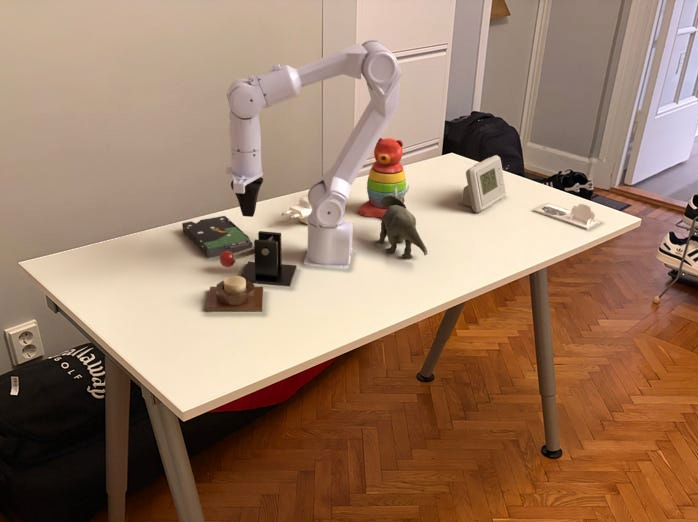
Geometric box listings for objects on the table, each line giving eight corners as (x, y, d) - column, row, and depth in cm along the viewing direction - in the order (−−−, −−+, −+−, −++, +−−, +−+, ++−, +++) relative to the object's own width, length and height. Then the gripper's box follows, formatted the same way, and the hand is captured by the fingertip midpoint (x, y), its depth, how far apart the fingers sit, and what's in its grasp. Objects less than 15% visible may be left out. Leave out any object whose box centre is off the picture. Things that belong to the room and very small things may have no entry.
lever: (222, 271, 143) (214, 257, 141) (226, 264, 145) (218, 251, 144) (276, 253, 140) (269, 239, 138) (279, 247, 142) (272, 232, 141)
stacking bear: (355, 214, 174) (359, 141, 164) (371, 201, 182) (375, 130, 172) (397, 223, 171) (403, 149, 161) (411, 209, 179) (418, 137, 169)
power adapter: (293, 233, 163) (293, 208, 160) (279, 226, 165) (278, 202, 162) (328, 220, 170) (329, 197, 167) (314, 214, 172) (314, 191, 169)
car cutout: (600, 222, 178) (604, 205, 176) (587, 229, 174) (591, 212, 171) (547, 204, 186) (551, 188, 184) (534, 211, 182) (537, 194, 180)
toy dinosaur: (428, 271, 151) (434, 221, 144) (389, 273, 149) (393, 222, 143) (402, 228, 168) (406, 182, 162) (367, 230, 167) (370, 183, 160)
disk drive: (182, 234, 159) (208, 260, 149) (180, 223, 158) (207, 248, 147) (225, 226, 164) (254, 251, 154) (224, 214, 163) (253, 238, 152)
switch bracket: (239, 284, 141) (237, 243, 136) (248, 266, 148) (246, 226, 143) (290, 288, 141) (289, 247, 136) (296, 270, 148) (296, 230, 143)
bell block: (263, 293, 139) (262, 277, 137) (262, 314, 132) (261, 297, 130) (210, 293, 138) (209, 276, 136) (207, 314, 131) (205, 297, 129)
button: (246, 284, 135) (246, 275, 134) (245, 294, 132) (245, 285, 131) (225, 284, 135) (224, 275, 134) (223, 294, 132) (223, 285, 131)
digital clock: (476, 215, 177) (482, 174, 171) (448, 204, 182) (453, 163, 177) (515, 201, 187) (522, 161, 181) (487, 191, 192) (494, 151, 186)
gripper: (233, 134, 142) (236, 200, 150) (215, 158, 130) (219, 228, 138) (269, 137, 142) (270, 203, 150) (253, 161, 130) (256, 231, 138)
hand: (248, 215), depth 144 cm, fingers closed
